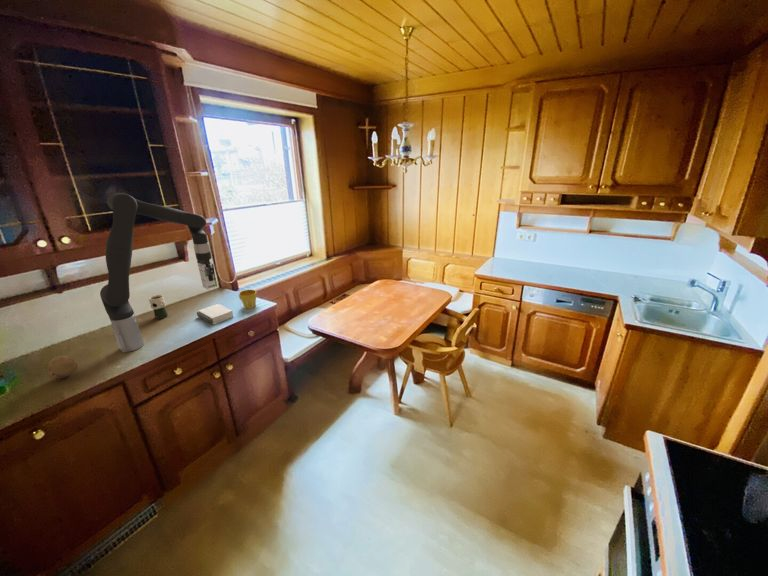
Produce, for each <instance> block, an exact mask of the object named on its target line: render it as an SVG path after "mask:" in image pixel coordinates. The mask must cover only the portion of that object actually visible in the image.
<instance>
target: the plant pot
mask: <svg viewBox="0 0 768 576" xmlns="http://www.w3.org/2000/svg"><path fill="white" fill-rule="evenodd" d="M238 297H239V300H240V301H241V303H242V304H243V305H242V306H243V307H244V309H252V308H255V307H256V305H257V304H256V303H257V297H258V293H257V291H256V290H255V289H244V290H241V291H240V292H239V293H238Z"/></svg>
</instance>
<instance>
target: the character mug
mask: <svg viewBox="0 0 768 576" xmlns="http://www.w3.org/2000/svg"><path fill="white" fill-rule="evenodd" d="M148 301H149V304H150V309H152V310H153V315H154V317H155V319H157V320H158V319H164V318H165V317H167V316H168V313H167V310H166V308H165V307H166V301H165V298H164V295H163V294H155V295H152V296H150V297H148Z"/></svg>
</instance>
